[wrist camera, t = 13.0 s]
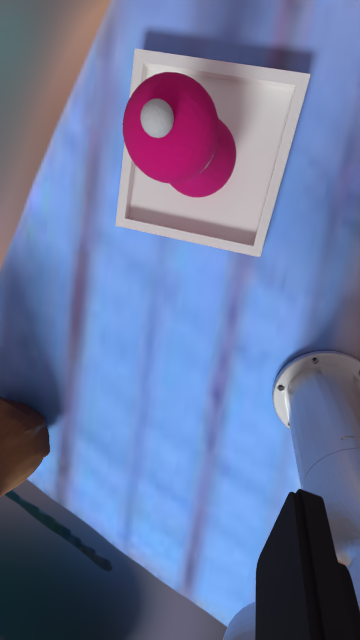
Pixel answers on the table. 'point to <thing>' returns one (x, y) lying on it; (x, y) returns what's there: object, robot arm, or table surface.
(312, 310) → the table surface
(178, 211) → the tray
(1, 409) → the butternut squash
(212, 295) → the table surface
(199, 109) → the pepper mill
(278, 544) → the robot arm
